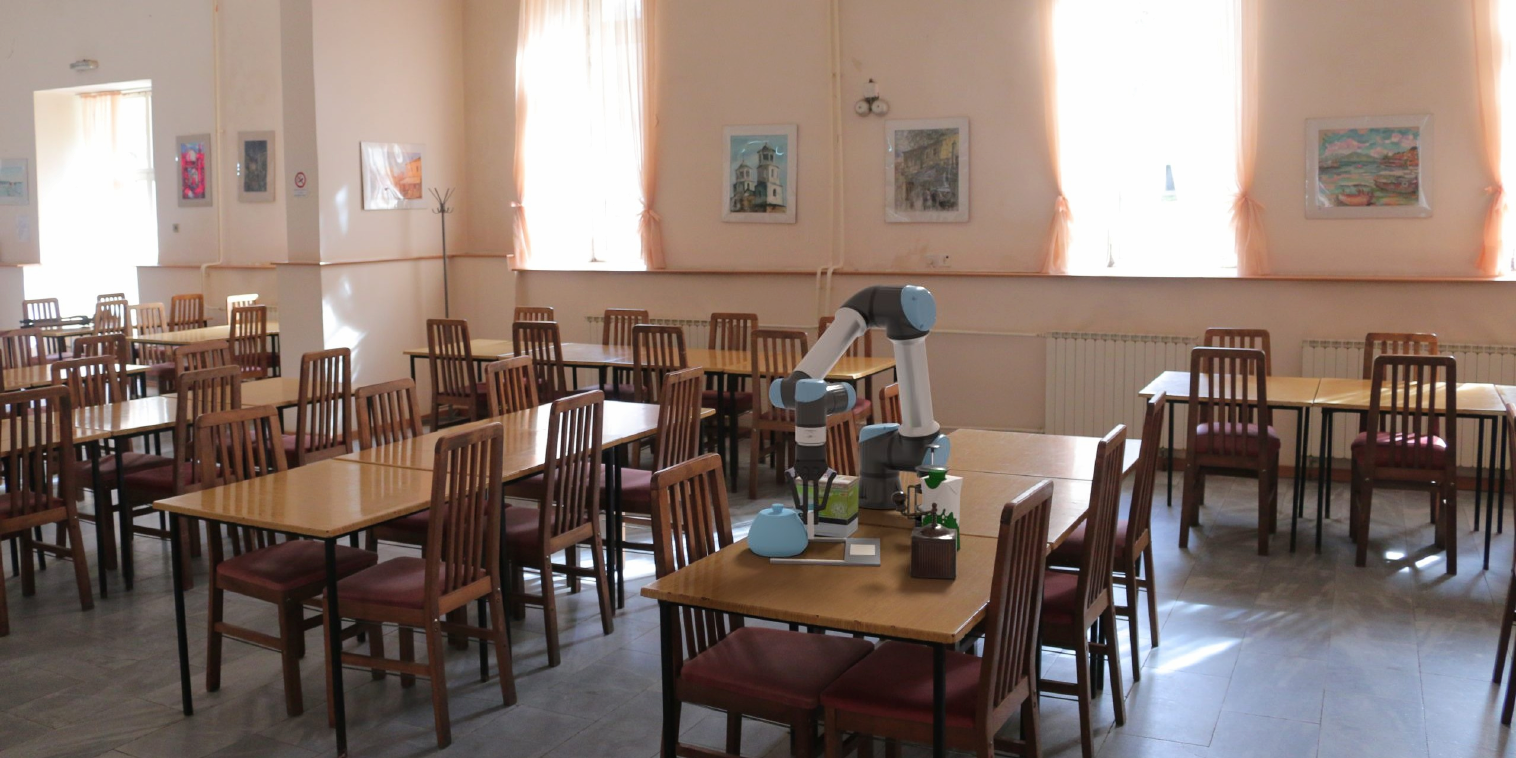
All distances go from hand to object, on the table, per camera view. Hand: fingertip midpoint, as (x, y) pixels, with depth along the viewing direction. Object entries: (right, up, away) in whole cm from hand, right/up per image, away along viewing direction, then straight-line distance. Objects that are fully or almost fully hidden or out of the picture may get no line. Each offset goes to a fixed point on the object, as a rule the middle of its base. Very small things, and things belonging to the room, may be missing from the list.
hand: (810, 537), depth 285 cm
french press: (+32, -1, +19) cm, 37 cm away
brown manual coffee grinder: (+25, -6, -17) cm, 31 cm away
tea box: (+5, -1, +19) cm, 20 cm away
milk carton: (+32, -3, +2) cm, 33 cm away
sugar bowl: (-8, -4, +1) cm, 9 cm away
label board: (+5, -3, 0) cm, 6 cm away
